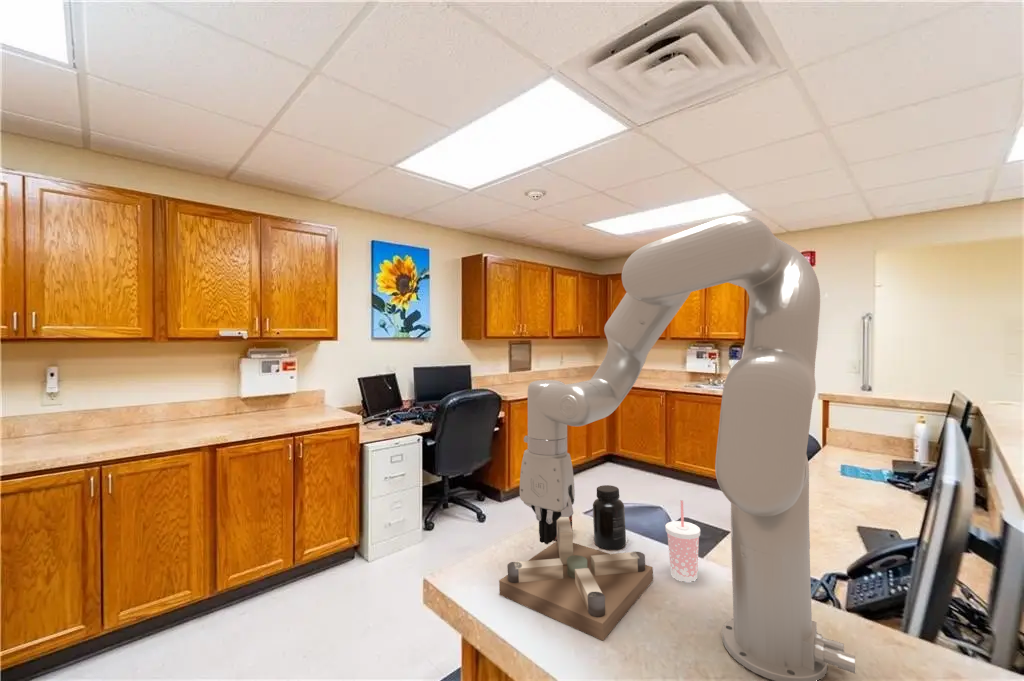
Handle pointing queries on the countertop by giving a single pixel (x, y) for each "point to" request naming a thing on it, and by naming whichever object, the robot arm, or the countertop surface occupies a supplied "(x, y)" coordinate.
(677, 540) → the beverage cup
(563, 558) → the hinged leg
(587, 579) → the stool seat
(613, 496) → the supplement bottle
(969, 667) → the countertop surface
